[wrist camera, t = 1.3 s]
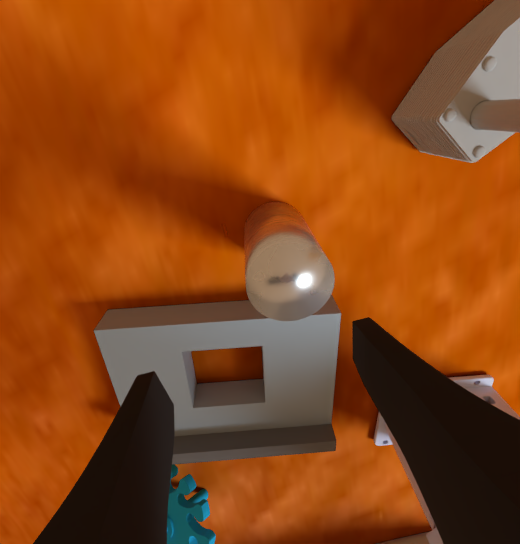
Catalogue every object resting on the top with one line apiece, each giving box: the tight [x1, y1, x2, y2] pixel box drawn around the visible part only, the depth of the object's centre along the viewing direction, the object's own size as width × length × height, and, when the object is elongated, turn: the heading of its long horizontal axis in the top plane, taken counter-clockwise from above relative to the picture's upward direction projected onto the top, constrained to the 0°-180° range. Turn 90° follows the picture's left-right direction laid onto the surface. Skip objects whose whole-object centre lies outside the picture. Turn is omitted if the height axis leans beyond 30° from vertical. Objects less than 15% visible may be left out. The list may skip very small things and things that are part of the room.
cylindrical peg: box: [244, 202, 334, 321], centre depth 17 cm, size 4×4×7 cm
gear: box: [167, 464, 216, 544], centre depth 30 cm, size 11×6×10 cm
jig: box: [94, 294, 341, 464], centre depth 23 cm, size 16×12×4 cm
